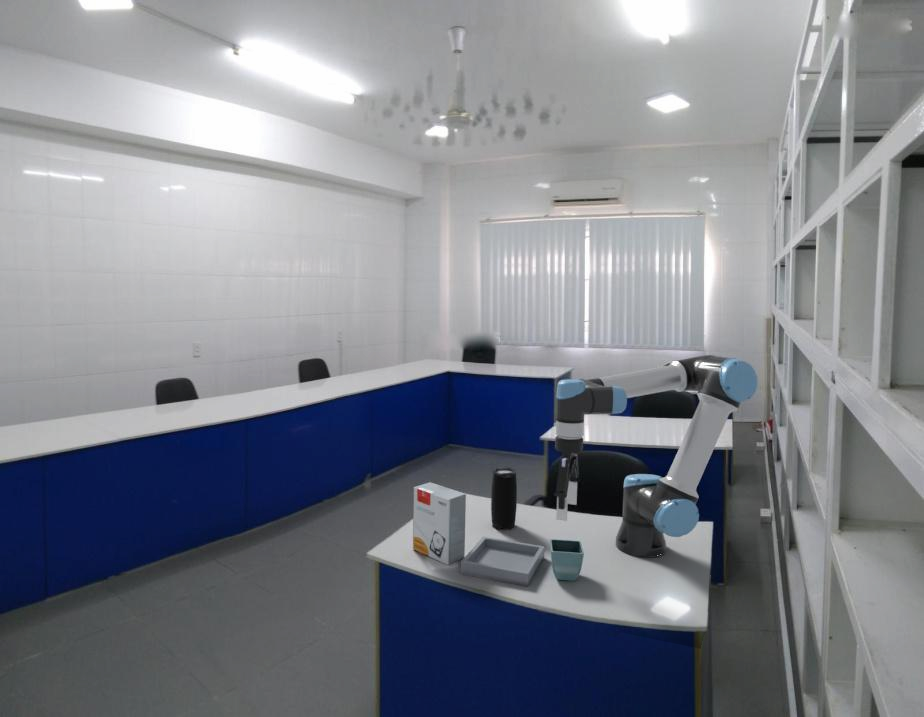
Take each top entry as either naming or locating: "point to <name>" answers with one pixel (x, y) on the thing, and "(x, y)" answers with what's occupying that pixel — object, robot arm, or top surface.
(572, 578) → the flower pot
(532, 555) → the tray
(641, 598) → the top surface
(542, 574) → the top surface
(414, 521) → the hard drive box
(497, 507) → the portable speaker
